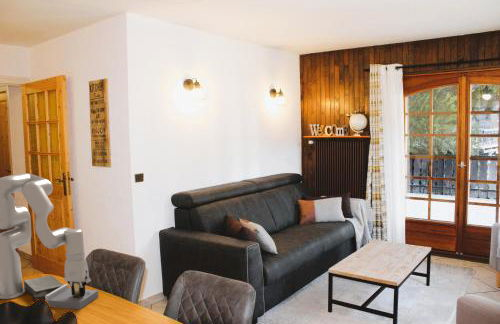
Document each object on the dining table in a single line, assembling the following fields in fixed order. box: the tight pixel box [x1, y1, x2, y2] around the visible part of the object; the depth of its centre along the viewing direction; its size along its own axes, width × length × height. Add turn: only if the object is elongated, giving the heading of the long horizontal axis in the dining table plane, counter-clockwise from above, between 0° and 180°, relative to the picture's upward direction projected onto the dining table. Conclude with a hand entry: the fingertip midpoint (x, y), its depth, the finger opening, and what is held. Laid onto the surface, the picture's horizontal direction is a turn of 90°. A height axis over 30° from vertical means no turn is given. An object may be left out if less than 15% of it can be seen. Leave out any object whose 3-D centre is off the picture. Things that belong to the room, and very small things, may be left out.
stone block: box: [23, 274, 64, 301], centre depth 212 cm, size 14×20×5 cm
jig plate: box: [44, 283, 100, 310], centre depth 200 cm, size 18×14×5 cm
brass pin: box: [74, 282, 83, 298], centre depth 198 cm, size 4×4×9 cm
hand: (78, 294), depth 199 cm, fingers closed on brass pin, 3 cm apart
